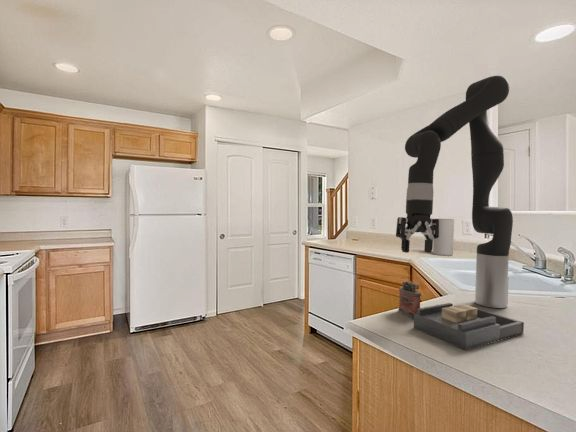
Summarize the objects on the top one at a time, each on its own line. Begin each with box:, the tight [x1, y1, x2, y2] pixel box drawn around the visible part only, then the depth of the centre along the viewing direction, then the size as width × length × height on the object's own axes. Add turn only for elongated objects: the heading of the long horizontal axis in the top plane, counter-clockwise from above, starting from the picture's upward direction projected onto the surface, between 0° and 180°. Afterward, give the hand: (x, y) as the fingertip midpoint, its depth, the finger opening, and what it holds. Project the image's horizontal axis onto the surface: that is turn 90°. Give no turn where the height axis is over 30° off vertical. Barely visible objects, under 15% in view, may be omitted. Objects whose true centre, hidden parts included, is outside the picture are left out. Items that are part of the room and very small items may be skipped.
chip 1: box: [442, 305, 466, 323], centre depth 83 cm, size 4×4×2 cm
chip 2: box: [453, 303, 477, 320], centre depth 85 cm, size 4×4×2 cm
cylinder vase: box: [432, 218, 455, 257], centre depth 226 cm, size 12×12×25 cm
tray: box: [476, 307, 525, 341], centre depth 89 cm, size 10×15×3 cm
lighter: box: [397, 280, 422, 319], centre depth 98 cm, size 8×3×10 cm, turn 21°
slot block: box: [413, 302, 500, 351], centre depth 84 cm, size 13×15×6 cm
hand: (416, 252), depth 98 cm, fingers open, 8 cm apart
